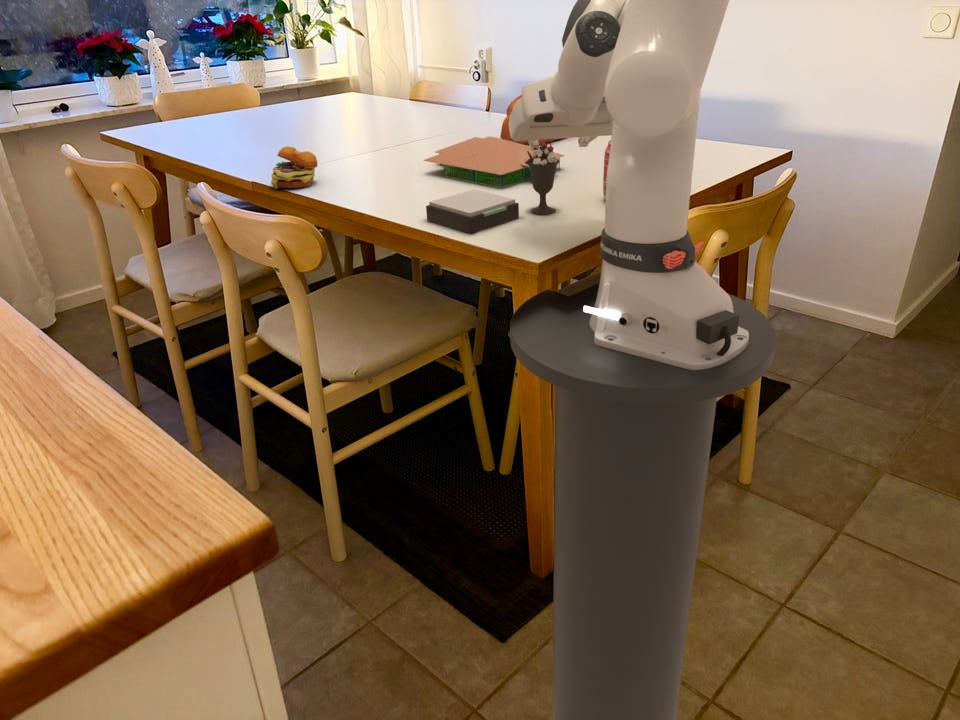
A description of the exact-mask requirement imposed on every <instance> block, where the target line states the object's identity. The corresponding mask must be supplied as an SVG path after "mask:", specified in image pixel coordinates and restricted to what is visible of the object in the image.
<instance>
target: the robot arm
mask: <svg viewBox="0 0 960 720" xmlns="http://www.w3.org/2000/svg"><path fill="white" fill-rule="evenodd" d="M729 3H730V0H577V1H575V3H574V5H573V7H572V9H571V11H570V13H569V16H568V19H567V22H566V24H565V27H564V31H563V34H562V38H561V44H562V50H561V53H560V56H559V60H558V63H557V70H556V72H555V73H554V74H553V75H550V76H547V77H545V78H543V79H539V80H537V81H533V82H529V83H526V84H524V85H523V86H522V87H521V94H522V97H521V98H520V99H519V100H517V102H516V103H515V105H514V107H513V109H512V112H511V115H510V118H509V132H510V136H511V138H512V139H513V140H514V141H526V140H528V142H529V144H528V146H529V147H530V150H538V148H539V147H540V146H541V144H539V142H538V141H539V140H542V139H557V140H559V139H558V138H560V139H574V138H577V143H578V148H587V147H588V146H589V145H590V143H591V142H593V141H594V140H596V139H597V138H598V137H604V136H606V137H607V136H611V137H610V140H611V146H610V154H609V162H608V169H607V182H606V199H605V207H604V209H605V211H604V212H605V213H604V227H603V228H602V230H601V234H600V247H599V248H600V249H599V255H600V257H601V271H600V279H599V283H600V284H599V289H598V294H597V299H596V303H595V306H594V308H592V307H588V306H584V312H587V313H591V314H592V315H591V318H590V321H589V324H590V327H591V329H592V330H593V332H594V333H595V335H594V343H595V344H596V345H598V346H601V347H605V348H609V349H613V350H617V351H620V352H624V353H628V354H632V355H636V356H639V357H643V358H647V359H651V360H655V361H658V362H662V363H666V364H670V365H674V366H677V367H681V368H685V369H689V370H702V369H708V368H712V367H715V366H718V365H721V364H723V363H725V362H727V361H729V360H731V359H733V358H734V357H736V356H737V355H739V354H740V353H741V352H742V351H743V350H744V349H745V348H746V347H747V345H748V343H749V332H748V331H747V330H745V329H743V328H741V327H738V324H739V317H740V316H739V315H737V314H734V312H733V304H732V300H731V298H730V296H729V295H728V294H729V293H728V292H726V290H724V289H723V288H722V287H721V286H720V285H719V284H718V283H717V282H716V280H714V279H713V278H712V276H710V274H709V273H708V272H707V271H705V269H704V268H703V267H702V265H700V264H699V263H698V262H697V255H696V253H698V252H700V251H702V250H704V247H702V246H703V245H704V243H705V242H704V241H700V242H697V243H695V244H694V243H693V240H692V238H691V235H690V234H691V233H690V232H689V230H688V224H689V223H688V222H689V214H690V213H689V212H690V204H691V203H690V201H691V190H692V181H693V169H694V161H695V151H696V150H695V149H696V140H697V131H698V130H697V129H698V119H699V111H700V100H701V91H702V87H703V84H704V82H705V78H706V74H707V71H708V68H709V65H710V62H711V59H712V56H713V53H714V49H715V46H716V43H717V40H718V37H719V34H720V31H721V28H722V25H723V22H724V18H725V15H726V12H727V9H728V6H729ZM727 293H728V294H727Z"/></svg>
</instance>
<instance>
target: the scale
mask: <svg viewBox="0 0 960 720" xmlns="http://www.w3.org/2000/svg"><path fill="white" fill-rule="evenodd" d="M519 209H520V208H519V202H516V199H515V198H512V197H508V196H503V195H500V194H496V193H490V192H487V191H482V190H478V189H475V188H474V189H470V190H466V191H462V192H459V193H456V194H452V195H449V196H444V197H441V198H437V199H434V200H431V201H429V202H428V205H426V206H425V211H426V221H427V222H432V223H433V224H436V225H437V224H438V225H441V226H444V227H447V228H451V229H453V230H457V231H459V232H460V231H461V232H463V233H467V234H474V233H477V232H480V231H483V230H486V229H489V228H493V227H495V226H498V225H501V224H505V223H507V222H511V221H513V220H516V219H517V220H518V219H519V218H520V210H519Z"/></svg>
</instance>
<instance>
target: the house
mask: <svg viewBox="0 0 960 720" xmlns="http://www.w3.org/2000/svg"><path fill="white" fill-rule="evenodd" d="M527 151H529V153H530V154H531V156H532V157H533V153H534V151H535V150H530V147H529V145H528V144H520V143H515V142H512V141H508V140H504V139H501V137H494V136H486V137H477V136H475V137H472V138H469V139H466V140H464V141H461V142H460V141H459V142H458V143H455V144H452V145H450V146H446V147H444V148H441V149H438V150H435V151H434V153H437V154H436V155H434V156H430V157H428V158H425V159H423V162H429V163H434V164H439V165H440V166H443V177H445V178H450V179H453V175H455V169H457V171H456V174H457V175H458V176H457V175H455V177H454V179H456V180H458V179H459V180H461V181H465V182H470V183H475V184H480V185H485V186H490V187H496V188H500V189H502V188H507V187H509V186H512V185H514V184H518V183H521V182H524V181H527V180H532V178H531V171H530V166H529V165H527V164H525V162H526V161H527V160H528V159H530V157H529V155H528V153H527ZM554 153H555V154H556V156H557V159H558V160H559V161H560V163H558V164H557V165H556V171H559V170H560V169H561V168H560V167H561V165H560V164H561V158H562V157H565V154H561V153H557V152H554ZM448 170H450V173H449V175H448ZM462 170H463V171H462ZM467 171H469V175H470V177H469V175H468V172H467ZM452 172H453V173H452ZM483 173H484V175H483ZM511 173H512V175H510V174H511ZM460 174H462V178H460ZM464 174H465V175H464ZM488 174H490V176H488ZM528 174H529V177H528ZM465 176H467V179H465ZM518 176H520V178H519V181H517V180H518ZM525 176H526V177H525ZM457 177H458V178H457ZM496 177H500V178H496ZM469 178H470V179H471V180H469ZM525 178H526V179H525ZM490 179H491V180H493V184H494V185H493V184H490V183H491V181H490ZM510 179H512V183H510ZM514 179H515V180H514ZM485 180H488V183H485ZM480 181H481V182H480ZM496 181H500V186H499V184H496ZM503 181H505V185H503ZM514 181H515V182H514ZM507 182H508V184H507Z"/></svg>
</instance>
